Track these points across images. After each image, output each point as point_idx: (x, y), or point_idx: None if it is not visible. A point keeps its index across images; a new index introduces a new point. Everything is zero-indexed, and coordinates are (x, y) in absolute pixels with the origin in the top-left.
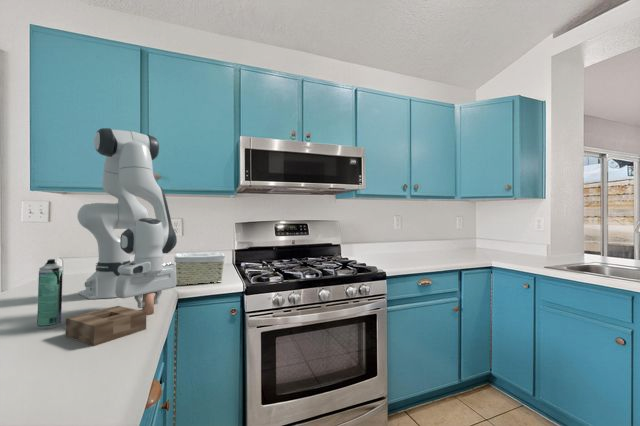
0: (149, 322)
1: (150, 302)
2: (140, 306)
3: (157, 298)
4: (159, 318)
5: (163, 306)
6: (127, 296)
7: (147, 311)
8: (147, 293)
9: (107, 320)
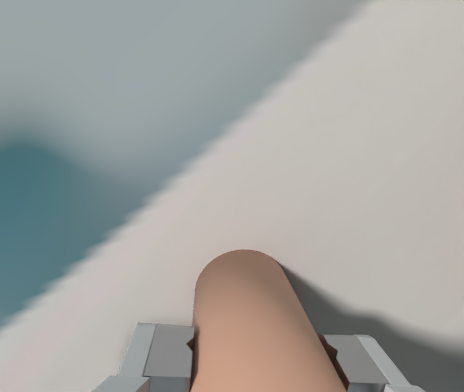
0: (454, 53)
1: (292, 333)
2: (376, 350)
3: (133, 383)
4: (328, 62)
5: (6, 356)
6: None
7: (284, 280)
8: None
9: None
